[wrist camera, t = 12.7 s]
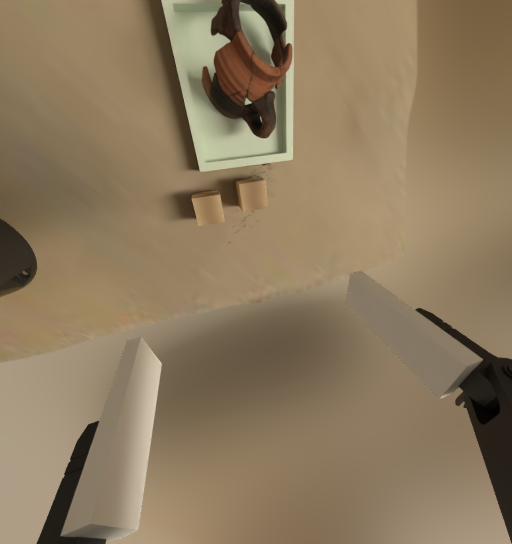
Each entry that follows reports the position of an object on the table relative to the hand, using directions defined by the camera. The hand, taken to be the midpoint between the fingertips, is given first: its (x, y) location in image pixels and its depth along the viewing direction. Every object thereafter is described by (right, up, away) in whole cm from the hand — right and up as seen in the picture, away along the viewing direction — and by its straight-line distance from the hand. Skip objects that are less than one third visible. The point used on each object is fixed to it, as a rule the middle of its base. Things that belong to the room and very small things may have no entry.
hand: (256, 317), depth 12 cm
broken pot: (-3, +26, +14) cm, 30 cm away
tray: (-2, +26, +14) cm, 30 cm away
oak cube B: (-1, +16, +20) cm, 26 cm away
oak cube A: (-8, +14, +20) cm, 25 cm away
